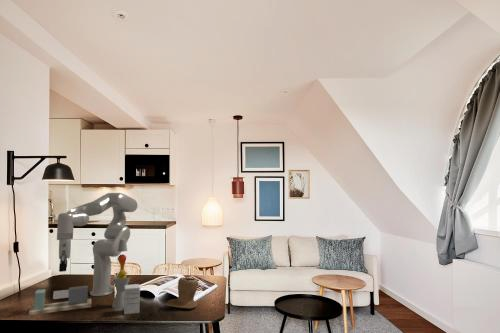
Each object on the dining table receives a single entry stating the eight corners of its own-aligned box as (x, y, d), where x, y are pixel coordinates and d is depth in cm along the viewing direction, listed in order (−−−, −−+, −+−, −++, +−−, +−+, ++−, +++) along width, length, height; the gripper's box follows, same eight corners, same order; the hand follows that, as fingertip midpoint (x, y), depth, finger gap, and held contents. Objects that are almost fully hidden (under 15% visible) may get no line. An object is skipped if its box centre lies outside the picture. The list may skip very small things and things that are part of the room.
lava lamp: (109, 304, 182) (112, 238, 185) (127, 301, 187) (129, 237, 190) (113, 309, 175) (115, 240, 178) (131, 306, 180) (133, 239, 182)
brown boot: (201, 304, 183) (202, 276, 185) (191, 311, 172) (191, 281, 173) (176, 301, 188) (177, 274, 189) (165, 308, 177) (165, 279, 178)
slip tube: (87, 293, 184) (87, 287, 184) (87, 295, 181) (87, 289, 181) (53, 297, 177) (53, 291, 177) (53, 299, 174) (53, 292, 174)
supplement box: (123, 310, 174) (124, 284, 175) (138, 308, 177) (139, 283, 178) (123, 314, 167) (124, 288, 168) (139, 313, 170) (140, 287, 171)
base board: (91, 301, 187) (91, 298, 187) (91, 306, 178) (91, 304, 179) (31, 308, 175) (31, 305, 175) (28, 315, 166) (28, 312, 166)
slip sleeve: (87, 300, 184) (87, 285, 185) (87, 303, 180) (88, 287, 181) (68, 302, 180) (69, 287, 181) (68, 305, 176) (68, 289, 177)
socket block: (44, 305, 176) (45, 289, 177) (43, 309, 170) (44, 292, 171) (35, 306, 175) (36, 290, 175) (33, 310, 168) (34, 293, 169)
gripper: (72, 238, 173) (70, 272, 172) (73, 234, 189) (71, 265, 187) (55, 238, 170) (53, 273, 169) (57, 235, 186) (56, 266, 184)
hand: (63, 269), depth 178 cm, fingers open, 9 cm apart
